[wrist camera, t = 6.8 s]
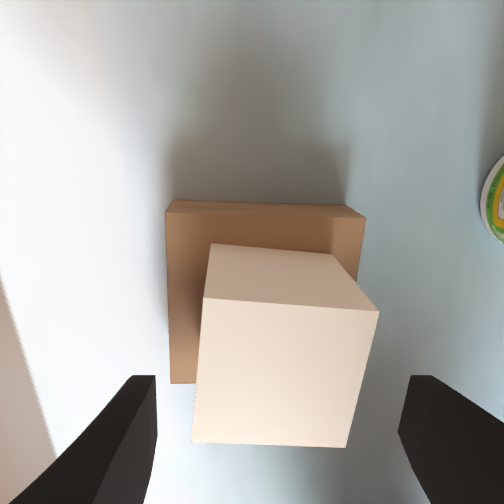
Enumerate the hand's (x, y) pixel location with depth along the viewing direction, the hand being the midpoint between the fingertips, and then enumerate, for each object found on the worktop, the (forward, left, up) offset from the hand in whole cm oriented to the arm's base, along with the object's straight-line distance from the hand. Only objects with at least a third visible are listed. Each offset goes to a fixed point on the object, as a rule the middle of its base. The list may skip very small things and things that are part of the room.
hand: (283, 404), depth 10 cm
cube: (0, 0, -6) cm, 6 cm away
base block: (0, 0, -9) cm, 9 cm away
